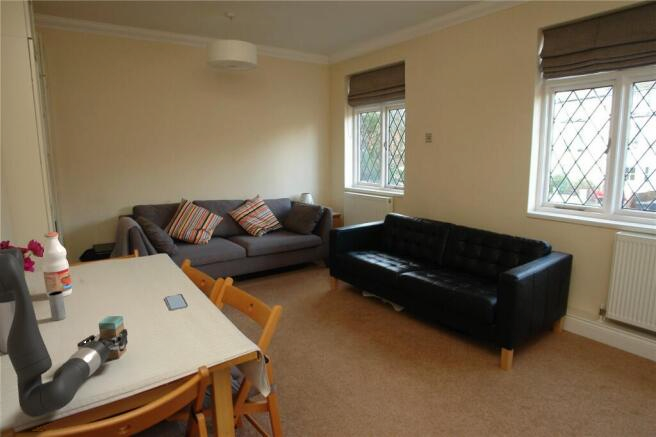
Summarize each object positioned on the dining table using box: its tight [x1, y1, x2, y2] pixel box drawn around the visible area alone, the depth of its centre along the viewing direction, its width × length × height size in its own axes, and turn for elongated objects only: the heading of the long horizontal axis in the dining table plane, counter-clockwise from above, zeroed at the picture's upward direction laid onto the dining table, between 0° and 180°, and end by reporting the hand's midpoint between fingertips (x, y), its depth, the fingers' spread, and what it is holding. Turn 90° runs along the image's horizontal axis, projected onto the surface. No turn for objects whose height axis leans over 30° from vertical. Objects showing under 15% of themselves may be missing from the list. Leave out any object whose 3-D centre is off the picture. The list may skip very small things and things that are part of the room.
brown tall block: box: [98, 315, 127, 360], centre depth 126 cm, size 5×5×12 cm
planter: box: [48, 291, 67, 322], centre depth 152 cm, size 4×4×10 cm
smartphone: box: [164, 293, 189, 312], centre depth 168 cm, size 7×1×15 cm
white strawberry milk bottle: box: [41, 231, 73, 299], centre depth 174 cm, size 9×9×28 cm
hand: (116, 331), depth 129 cm, fingers closed on brown tall block, 5 cm apart
